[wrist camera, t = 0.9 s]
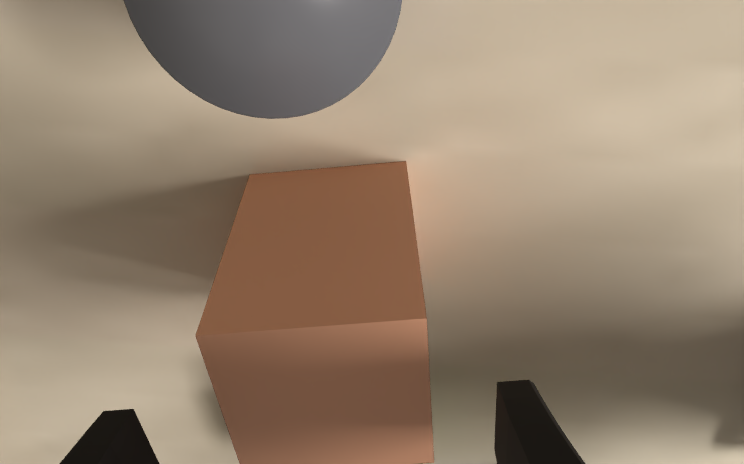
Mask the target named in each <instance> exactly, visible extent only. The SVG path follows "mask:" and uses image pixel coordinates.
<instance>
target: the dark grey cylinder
mask: <svg viewBox="0 0 744 464" xmlns="http://www.w3.org/2000/svg"><path fill="white" fill-rule="evenodd" d="M124 3H125V5H126V8H127V11H128V13H129V16H130V19H131V21H132V23H133V25H134V27H135V29H136V31H137V32H138V34H139V36H140V38H141V39H142V41H143V42H144V44H145V45H146V47H147V49H148V50H149V52H150V53H151V54H152V55H153V57H154V58H155V59H156V60H157V61H158V63H159V64H160V65H161V66H162V67H163V68H164V69H165V70H166V71H167V72H168V73H169V74H170V75H171V76H172V77H173V78H174V79H175V80H176V81H177V82H179V83H180V84H181V85H182V86H184V87H185V88H186V89H188V90H189V91H190V92H192V93H194V94H195V95H197V96H198V97H200V98H202V99H203V100H205V101H207V102H209V103H211V104H213V105H215V106H217V107H220V108H222V109H225V110H228V111H231V112H234V113H237V114H241V115H246V116H251V117H258V118H268V119H274V118H290V117H297V116H303V115H306V114H310V113H313V112H317V111H319V110H322V109H324V108H326V107H328V106H331V105H333V104H335V103H336V102H338V101H340V100H341V99H343V98H345V97H346V96H347V95H349V94H350V93H351V92H353V91H354V90H355V89H356V88H358V87H359V86H360V85H361V84H362V83H363V82H364V81H365V80H366V79H367V78H368V77H369V76H370V74H371V73H372V72H373V70H374V69H375V68H376V66H377V65H378V64H379V62H380V61H381V59H382V58H383V56H384V54H385V52H386V50H387V49H388V47H389V45H390V42H391V40H392V37H393V35H394V32H395V30H396V26H397V22H398V19H399V15H400V11H401V3H402V0H124Z"/></svg>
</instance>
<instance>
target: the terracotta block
mask: <svg viewBox="0 0 744 464" xmlns="http://www.w3.org/2000/svg"><path fill="white" fill-rule="evenodd" d="M196 339H197V342H198V345H199V348H200V350H201V353H202V356H203V359H204V362H205V365H206V368H207V371H208V373H209V376H210V379H211V382H212V385H213V388H214V391H215V394H216V397H217V399H218V402H219V405H220V408H221V411H222V414H223V417H224V420H225V422H226V425H227V428H228V431H229V434H230V437H231V440H232V443H233V446H234V448H235V451H236V454H237V457H238V460H239V463H240V464H421V463H434V451H433V432H432V412H431V393H430V373H429V354H428V334H427V317H426V309H425V302H424V294H423V287H422V279H421V271H420V264H419V256H418V249H417V241H416V233H415V226H414V218H413V211H412V203H411V195H410V188H409V180H408V173H407V165H406V161H402V162H391V163H379V164H367V165H356V166H344V167H332V168H321V169H309V170H297V171H286V172H274V173H262V174H251V175H249V178H248V181H247V184H246V187H245V190H244V193H243V196H242V199H241V202H240V205H239V208H238V211H237V214H236V217H235V220H234V223H233V226H232V229H231V232H230V235H229V238H228V241H227V244H226V247H225V250H224V253H223V256H222V259H221V261H220V264H219V267H218V270H217V273H216V276H215V279H214V282H213V285H212V288H211V291H210V294H209V297H208V300H207V303H206V306H205V309H204V312H203V315H202V318H201V321H200V324H199V327H198V330H197V333H196Z"/></svg>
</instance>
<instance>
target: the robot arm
mask: <svg viewBox="0 0 744 464" xmlns="http://www.w3.org/2000/svg"><path fill="white" fill-rule="evenodd" d="M495 454H496V460H497V464H585V463H584V461H583V460H582V458H581V457H580V456H579V454H578V453H577V451H576V450H575V449H574V447H573V446H572V444H571V443H570V441H569V440H568V438H567V437H566V435H565V434H564V432H563V431H562V429H561V428H560V426H559V425H558V423H557V422H556V420H555V418H554V417H553V415H552V414H551V412H550V410H549V409H548V407H547V406H546V404H545V402H544V401H543V399H542V397H541V395H540V394H539V392H538V390H537V388H536V386H535V385H534V383H532V382H531V381H530V380H519V381H506V382H497V399H496V423H495ZM60 464H159V462H158V460H157V458H156V456H155V454H154V452H153V449H152V447H151V445H150V443H149V441H148V439H147V437H146V435H145V432H144V430H143V428H142V426H141V424H140V422H139V420H138V418H137V416H136V413H135V411H134V409H127V410H114V411H103V412H102V414H101V415H100V416H99V417H98V418H97V419H96V421H95V422H94V423H93V424H92V425H91V426H90V428H89V429H88V430H87V431H86V432H85V434H84V435H83V436H82V437H81V438H80V440H79V441H78V442H77V443H76V445H75V446H74V447H73V448H72V449H71V451H70V452H69V453H68V454H67V455H66V457H65V458H64V459H63V460H62V461H61V463H60Z"/></svg>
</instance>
